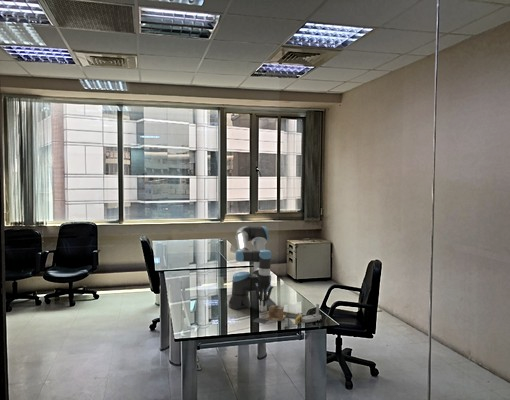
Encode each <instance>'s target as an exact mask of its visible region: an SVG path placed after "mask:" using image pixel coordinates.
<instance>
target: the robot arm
mask: <svg viewBox="0 0 510 400" xmlns="http://www.w3.org/2000/svg"><path fill="white" fill-rule="evenodd" d="M234 238H235V240H236V242H237V243H236V244H237V250H235V261H237V262H242V263H243V262H244V263H245V262H247V263H249V262H250V263H253V271H252V273H250V272H249V271H238V272H235V273H234V274H233V275H232V281H231V282H232V285H231V296H230V298H229V301H228V307H229V308H230V309H234V310H238V311H239V310H249V309H250V308H251V307H252V306H251V305H252V304H251V300H250V296H249V295H250V293H255V296H256V300H259V306H260V312H264V311H265V307H266V305H267V301H269V300H270V297H271V294H272V291H273V289H274V285H272V284H271V283H272V275H271V265H272V264H271V263H272V251H271V250H269V249H266V244H267V242H269V230H268V227H266V226H265V225H248V224H247V225H243V226H241V227H239V228H238V229H237V230H236V231H235V235H234ZM249 242H251V245H252V246H253V250H250V248H249Z"/></svg>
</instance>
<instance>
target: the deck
mask: <svg viewBox="0 0 510 400" xmlns="http://www.w3.org/2000/svg"><path fill="white" fill-rule="evenodd" d="M285 318H287V317H286V315H283V317H282V318H281V319H279V318H274V317H269V311H268V312H267V313H266V314H265V315H263V316H262V319H267V320H273V321H277V322H282V321H283V320H284V319H285Z"/></svg>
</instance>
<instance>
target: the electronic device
mask: <svg viewBox="0 0 510 400" xmlns="http://www.w3.org/2000/svg"><path fill="white" fill-rule="evenodd" d="M315 305H316V306H315V314H310V315H305V316H302V317H301V321H300V322H302V323H306V324H307V323H312V322H317V320H318V321H321V320H322V315H321V313H320V304H318V303H317V304H315ZM320 319H321V320H320Z"/></svg>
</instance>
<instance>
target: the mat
mask: <svg viewBox="0 0 510 400" xmlns="http://www.w3.org/2000/svg"><path fill="white" fill-rule="evenodd" d="M269 321H270V319H267V318H263V317H262V318H260V317H257V318H255V319H254V320H253V321H252V322H253V323H258V324H263V325H265V324H266V323H268V322H269Z"/></svg>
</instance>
